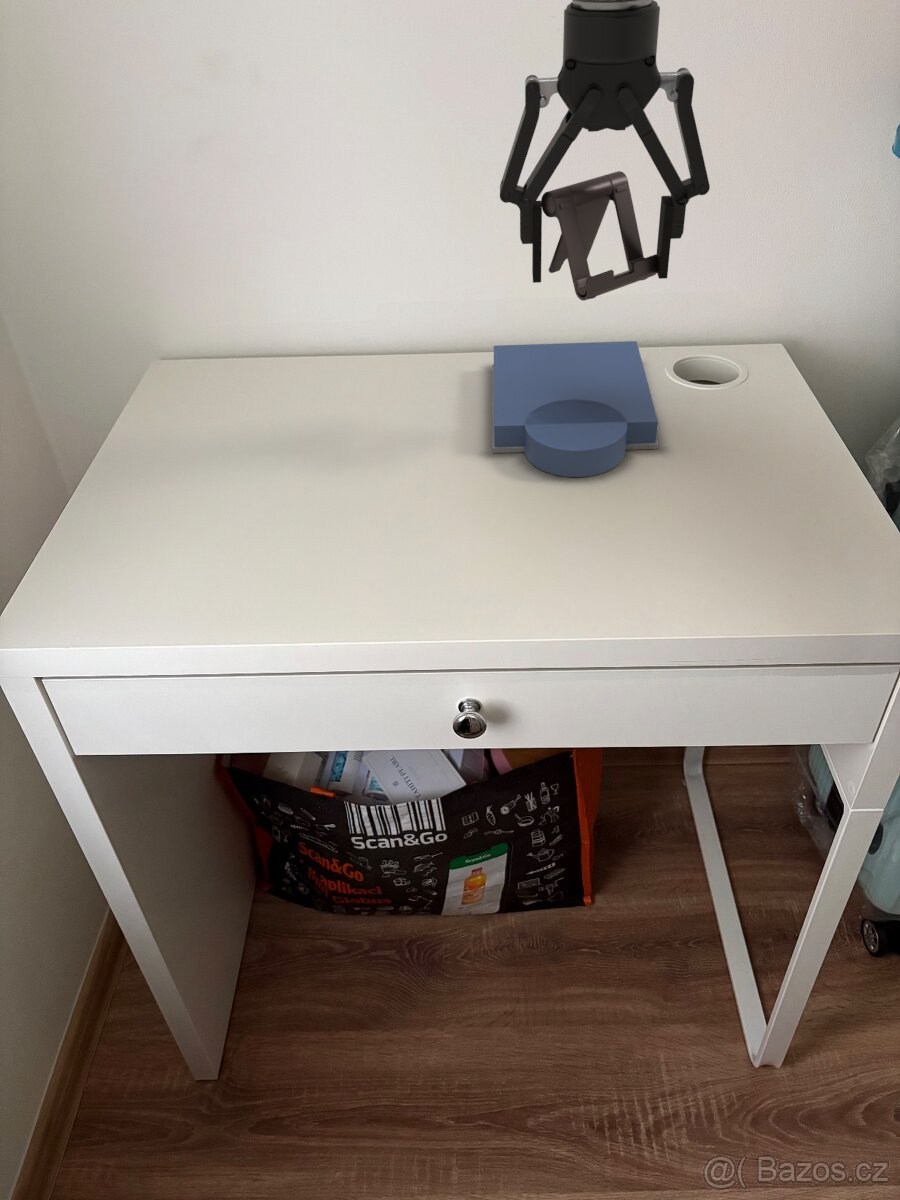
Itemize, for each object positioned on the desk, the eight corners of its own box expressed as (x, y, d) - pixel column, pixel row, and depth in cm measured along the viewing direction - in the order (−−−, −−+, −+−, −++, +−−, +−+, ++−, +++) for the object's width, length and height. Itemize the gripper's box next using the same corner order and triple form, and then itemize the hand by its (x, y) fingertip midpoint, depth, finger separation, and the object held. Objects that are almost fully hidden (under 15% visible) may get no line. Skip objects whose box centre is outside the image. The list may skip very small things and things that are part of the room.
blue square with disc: (664, 475, 92) (667, 448, 90) (492, 479, 93) (492, 452, 91) (636, 364, 110) (638, 340, 108) (492, 369, 111) (491, 344, 109)
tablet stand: (586, 304, 86) (591, 208, 81) (530, 279, 91) (531, 186, 86) (657, 279, 90) (666, 185, 84) (599, 256, 95) (604, 166, 89)
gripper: (462, 16, 74) (472, 294, 88) (773, 0, 72) (732, 286, 86) (465, 0, 80) (474, 264, 94) (753, -15, 78) (718, 255, 92)
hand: (598, 275), depth 90 cm, fingers closed on tablet stand, 11 cm apart
